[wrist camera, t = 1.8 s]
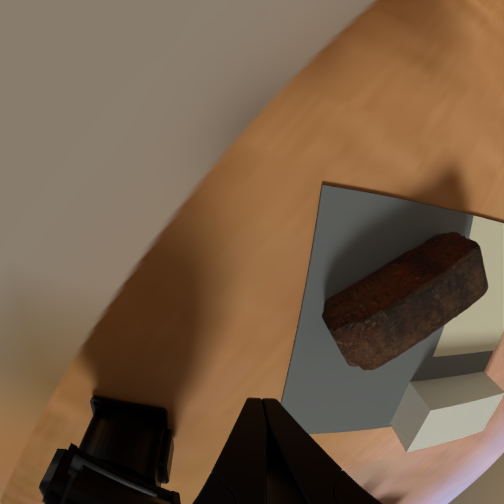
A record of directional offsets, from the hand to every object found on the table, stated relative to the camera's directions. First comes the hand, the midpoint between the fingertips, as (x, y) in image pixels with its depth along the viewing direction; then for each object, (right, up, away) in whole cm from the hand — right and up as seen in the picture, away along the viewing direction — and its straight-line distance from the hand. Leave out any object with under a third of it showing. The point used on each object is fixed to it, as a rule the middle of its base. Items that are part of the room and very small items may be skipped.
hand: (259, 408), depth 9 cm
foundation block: (+18, -9, +16) cm, 26 cm away
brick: (+9, +2, +12) cm, 16 cm away
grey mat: (+13, -2, +14) cm, 19 cm away
